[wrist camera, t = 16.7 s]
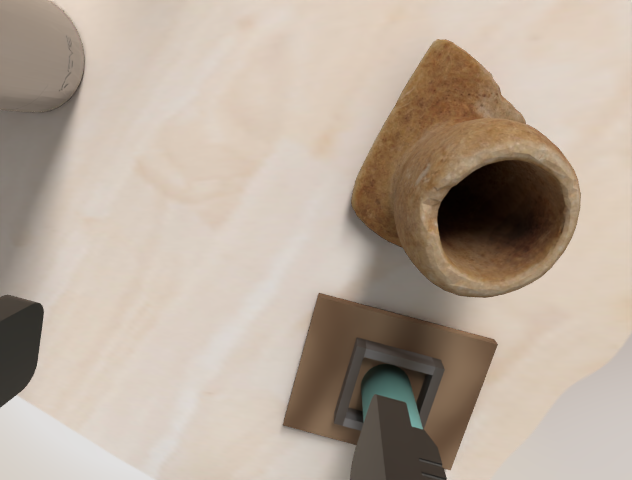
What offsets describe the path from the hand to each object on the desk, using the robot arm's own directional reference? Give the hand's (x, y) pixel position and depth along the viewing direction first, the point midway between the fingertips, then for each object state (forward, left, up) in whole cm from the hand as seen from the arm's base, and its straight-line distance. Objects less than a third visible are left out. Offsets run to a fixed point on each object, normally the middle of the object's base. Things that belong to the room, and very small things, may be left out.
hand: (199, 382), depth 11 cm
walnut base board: (+11, -14, -30) cm, 35 cm away
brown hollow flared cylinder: (+10, +6, -30) cm, 33 cm away
